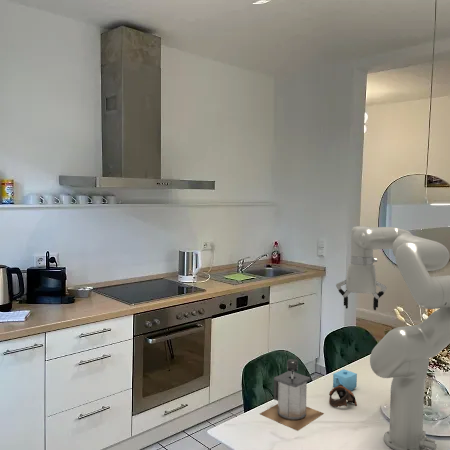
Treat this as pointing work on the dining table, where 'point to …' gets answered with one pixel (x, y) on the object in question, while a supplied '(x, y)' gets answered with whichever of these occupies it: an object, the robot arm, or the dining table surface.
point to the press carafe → (291, 395)
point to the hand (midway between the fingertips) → (360, 308)
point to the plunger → (292, 366)
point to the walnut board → (296, 425)
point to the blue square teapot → (345, 379)
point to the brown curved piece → (342, 396)
